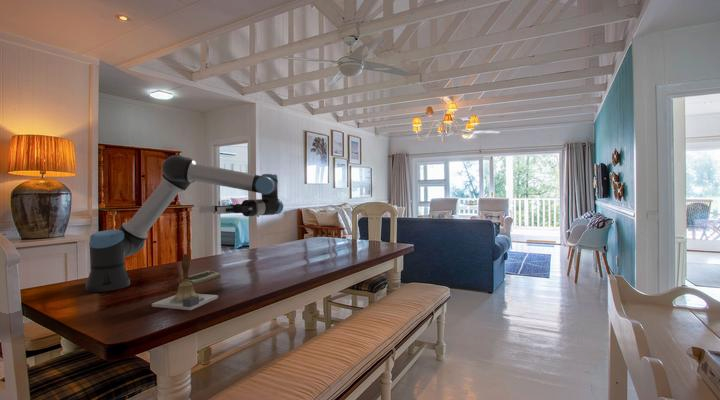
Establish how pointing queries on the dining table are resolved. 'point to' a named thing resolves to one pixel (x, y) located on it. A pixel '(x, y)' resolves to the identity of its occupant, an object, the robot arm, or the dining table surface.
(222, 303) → the dining table surface
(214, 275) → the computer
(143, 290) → the dining table surface
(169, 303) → the charging dock
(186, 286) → the hand bell
